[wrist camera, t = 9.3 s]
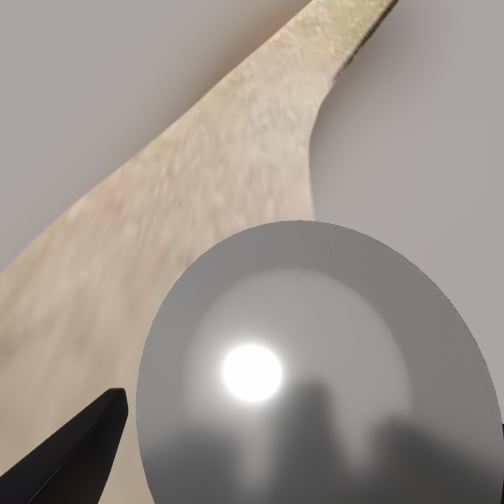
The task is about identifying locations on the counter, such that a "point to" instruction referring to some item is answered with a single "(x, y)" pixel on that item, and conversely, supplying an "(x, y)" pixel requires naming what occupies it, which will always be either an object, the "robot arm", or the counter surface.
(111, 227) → the counter surface
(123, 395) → the robot arm
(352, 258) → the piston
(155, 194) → the counter surface
